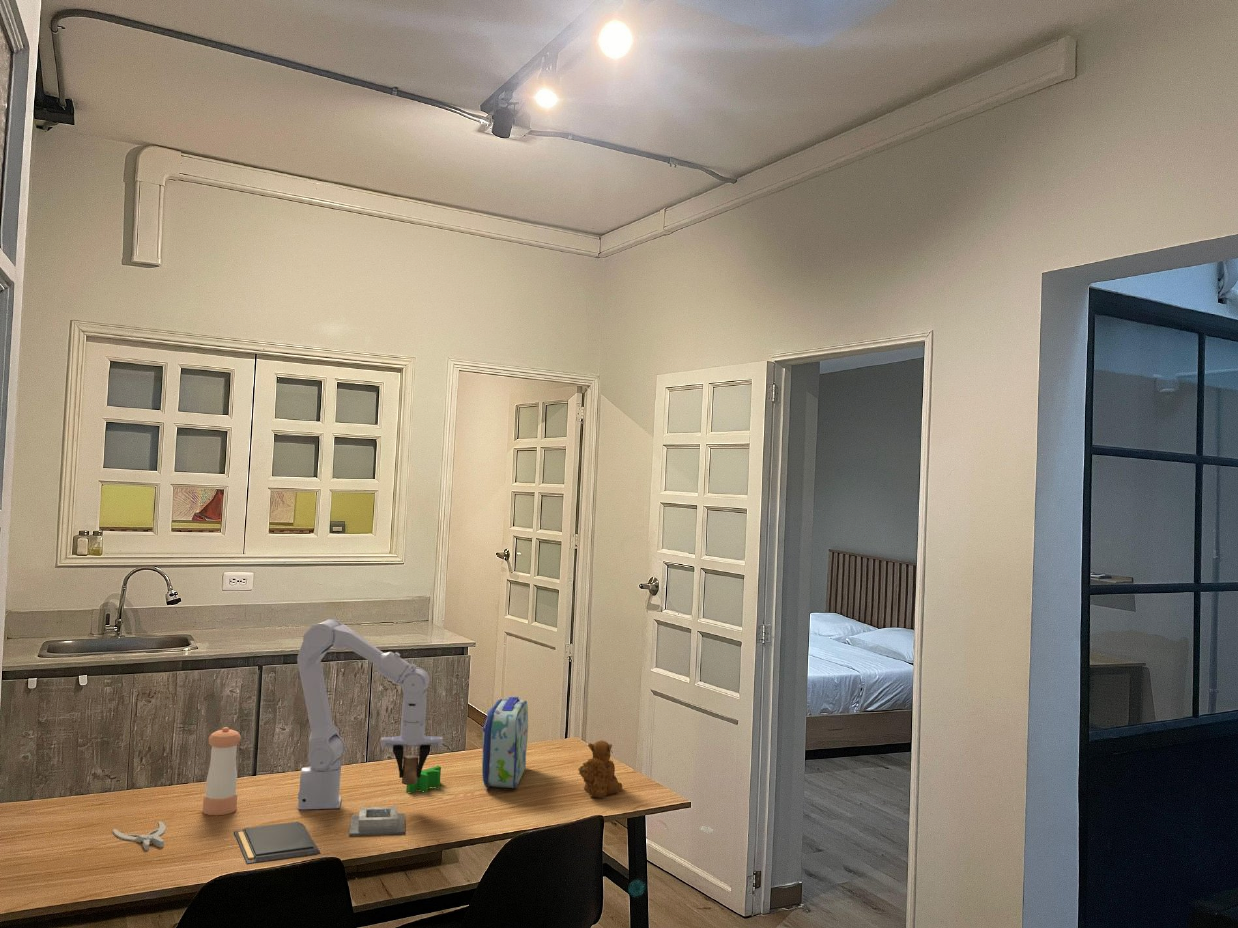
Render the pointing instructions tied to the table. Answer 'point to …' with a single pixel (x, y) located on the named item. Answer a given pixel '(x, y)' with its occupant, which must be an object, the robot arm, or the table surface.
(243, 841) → the grey flat slab
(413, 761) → the cylinder
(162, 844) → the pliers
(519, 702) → the lunch box
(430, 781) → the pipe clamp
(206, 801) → the pepper shaker
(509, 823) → the table surface
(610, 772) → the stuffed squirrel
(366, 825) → the mount
